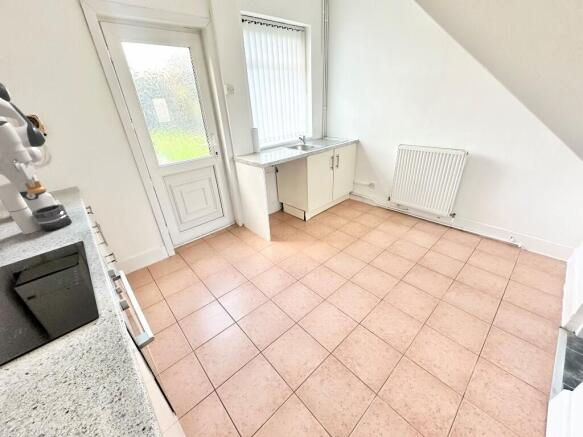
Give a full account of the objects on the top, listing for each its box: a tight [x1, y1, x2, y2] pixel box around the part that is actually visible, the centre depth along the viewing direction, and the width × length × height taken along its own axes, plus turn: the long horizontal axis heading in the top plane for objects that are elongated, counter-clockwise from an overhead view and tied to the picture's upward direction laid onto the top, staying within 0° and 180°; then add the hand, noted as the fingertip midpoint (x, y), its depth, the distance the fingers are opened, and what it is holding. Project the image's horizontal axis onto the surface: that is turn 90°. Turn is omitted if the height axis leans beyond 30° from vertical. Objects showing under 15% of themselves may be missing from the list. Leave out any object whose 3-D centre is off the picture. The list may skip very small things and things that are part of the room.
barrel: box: [32, 203, 73, 233], centre depth 126 cm, size 12×12×10 cm
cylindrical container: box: [0, 182, 42, 235], centre depth 119 cm, size 7×7×25 cm
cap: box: [25, 180, 47, 194], centre depth 118 cm, size 7×7×5 cm
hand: (34, 186), depth 118 cm, fingers closed on cap
